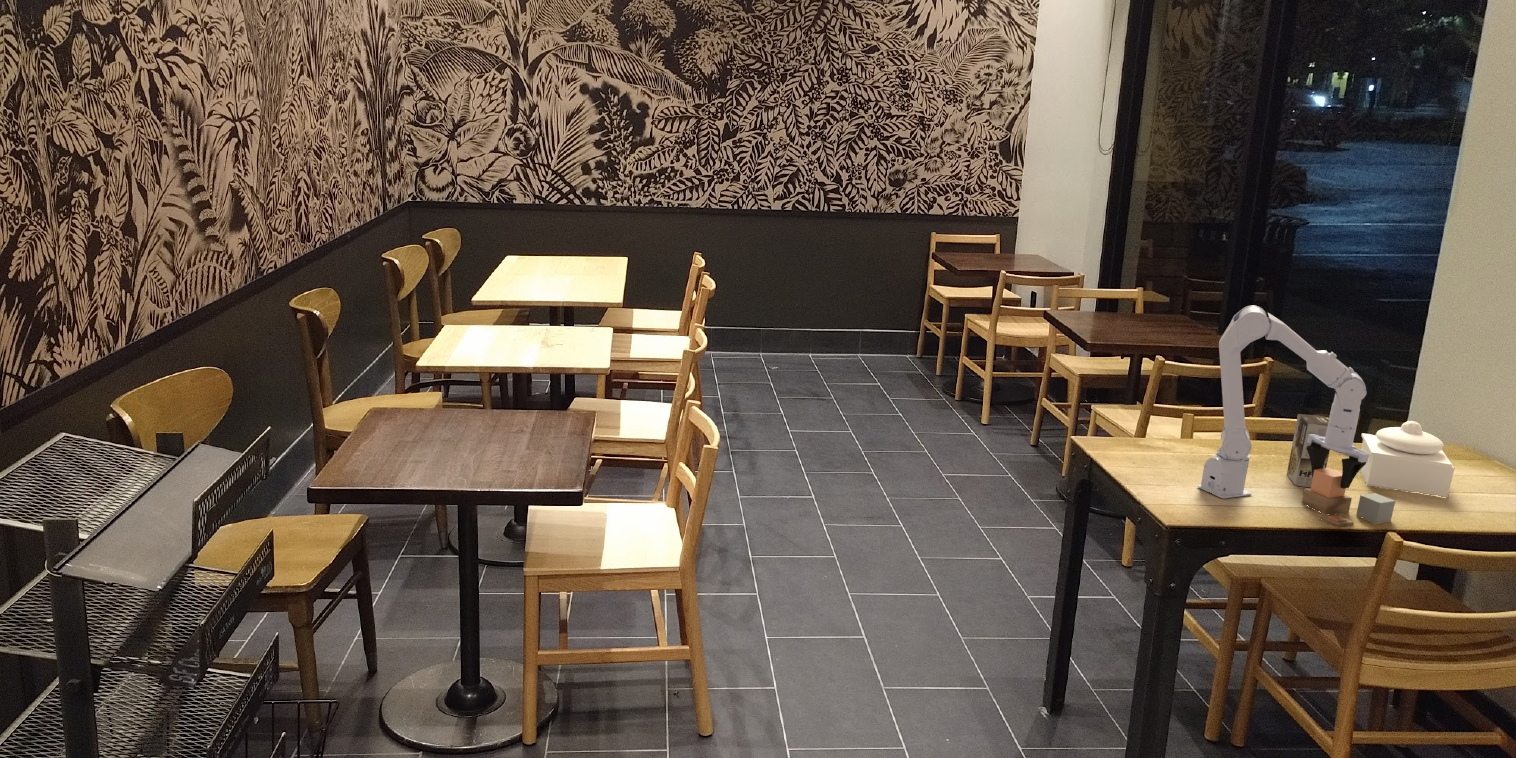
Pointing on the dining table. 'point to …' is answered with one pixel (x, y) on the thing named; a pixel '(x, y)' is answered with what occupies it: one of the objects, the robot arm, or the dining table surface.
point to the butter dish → (1407, 460)
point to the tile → (1336, 520)
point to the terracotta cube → (1327, 482)
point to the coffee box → (1299, 455)
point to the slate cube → (1375, 508)
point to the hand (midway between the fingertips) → (1330, 481)
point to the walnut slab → (1326, 502)
